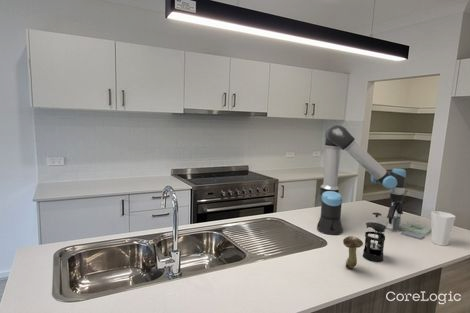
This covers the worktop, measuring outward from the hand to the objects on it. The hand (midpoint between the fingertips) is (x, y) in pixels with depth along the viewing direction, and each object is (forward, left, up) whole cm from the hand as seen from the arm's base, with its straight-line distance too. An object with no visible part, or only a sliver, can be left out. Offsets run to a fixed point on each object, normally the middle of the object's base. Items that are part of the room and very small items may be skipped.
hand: (394, 225), depth 184 cm
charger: (0, 0, -2) cm, 2 cm away
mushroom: (+5, -71, -2) cm, 71 cm away
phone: (+11, -3, -3) cm, 12 cm away
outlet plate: (+10, +10, -2) cm, 14 cm away
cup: (+25, -3, -2) cm, 25 cm away
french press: (+8, -51, -2) cm, 52 cm away
